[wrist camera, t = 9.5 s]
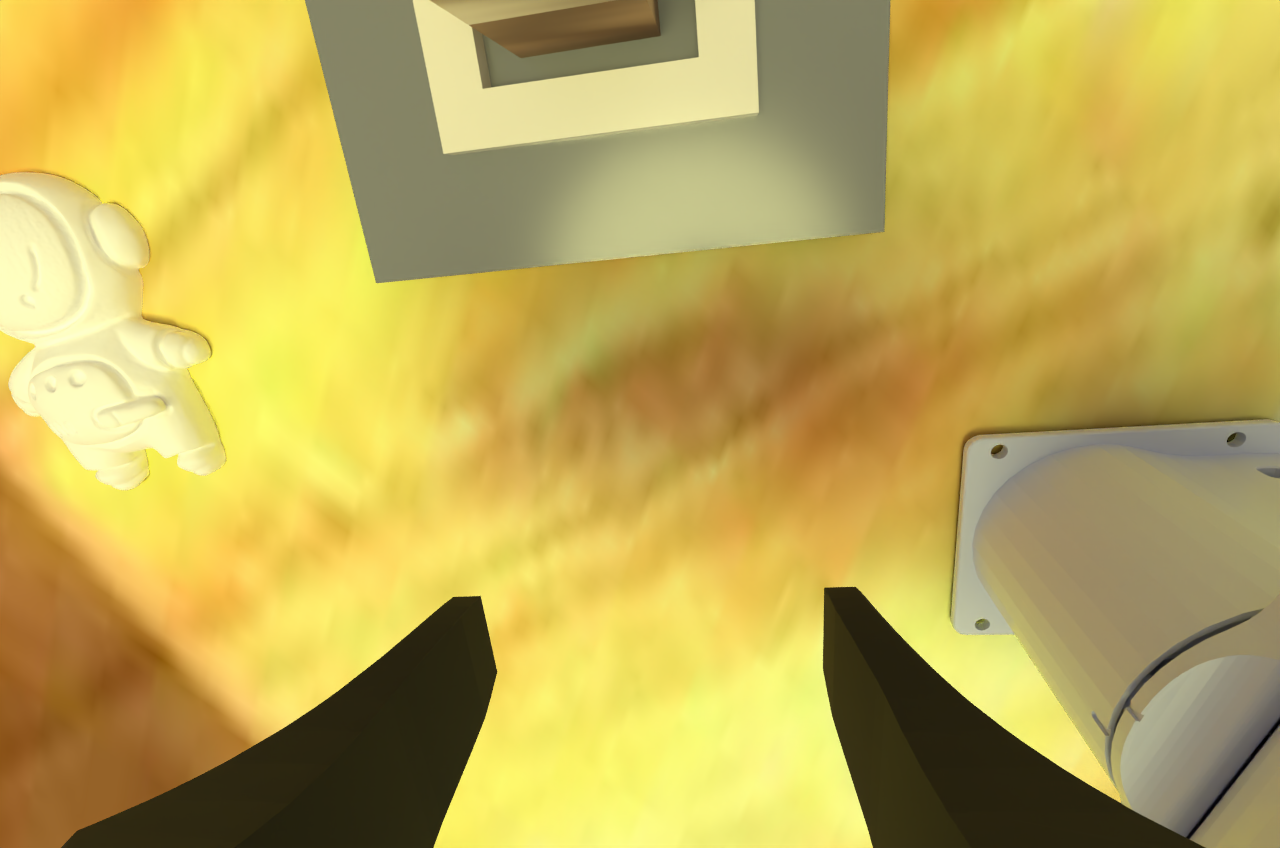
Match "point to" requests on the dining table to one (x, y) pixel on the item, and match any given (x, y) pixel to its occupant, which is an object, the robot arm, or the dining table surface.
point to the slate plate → (607, 133)
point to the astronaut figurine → (96, 334)
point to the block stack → (557, 22)
